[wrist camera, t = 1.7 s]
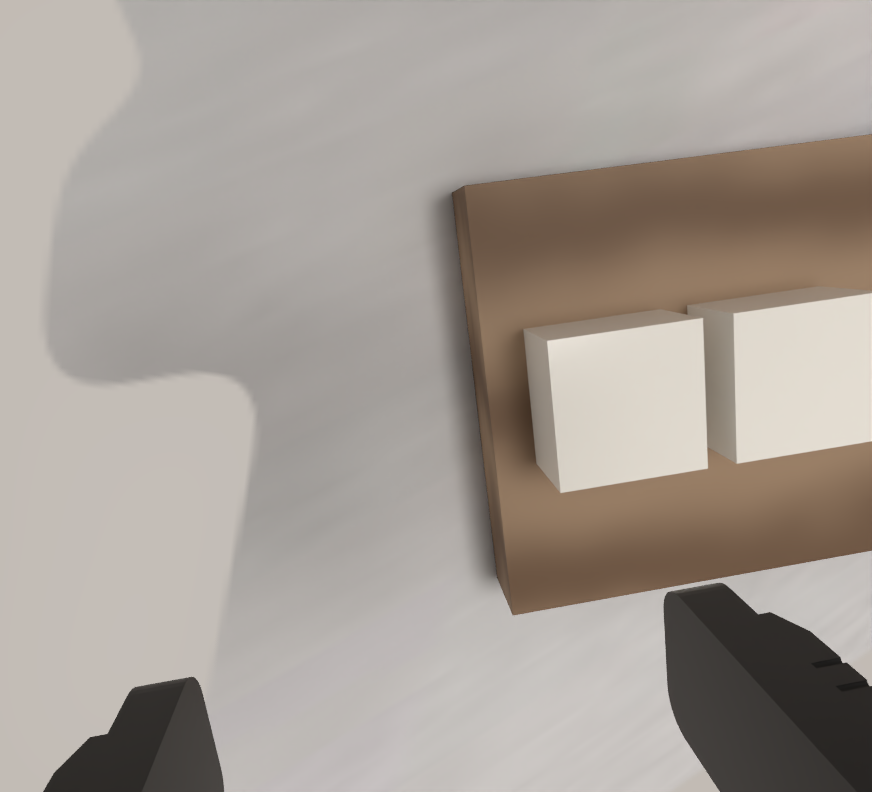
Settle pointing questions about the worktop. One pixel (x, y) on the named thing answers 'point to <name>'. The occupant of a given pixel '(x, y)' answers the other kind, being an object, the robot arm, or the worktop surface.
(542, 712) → the worktop surface
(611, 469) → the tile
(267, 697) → the worktop surface
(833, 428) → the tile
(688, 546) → the walnut board
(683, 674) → the robot arm
